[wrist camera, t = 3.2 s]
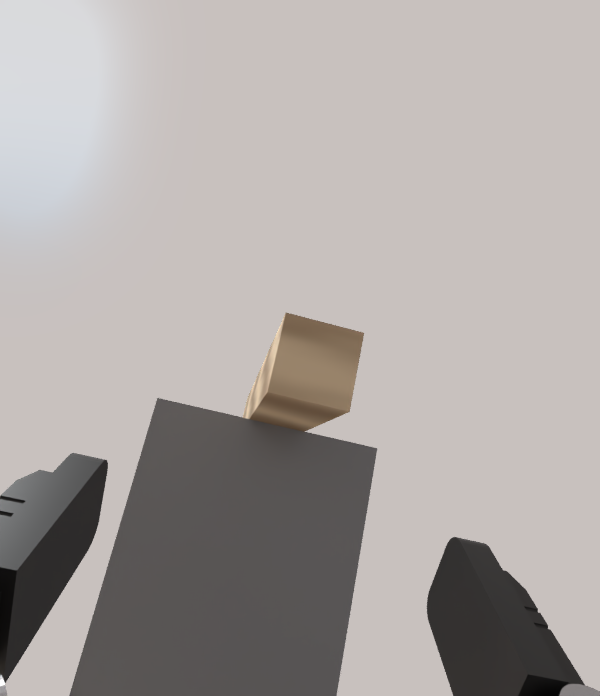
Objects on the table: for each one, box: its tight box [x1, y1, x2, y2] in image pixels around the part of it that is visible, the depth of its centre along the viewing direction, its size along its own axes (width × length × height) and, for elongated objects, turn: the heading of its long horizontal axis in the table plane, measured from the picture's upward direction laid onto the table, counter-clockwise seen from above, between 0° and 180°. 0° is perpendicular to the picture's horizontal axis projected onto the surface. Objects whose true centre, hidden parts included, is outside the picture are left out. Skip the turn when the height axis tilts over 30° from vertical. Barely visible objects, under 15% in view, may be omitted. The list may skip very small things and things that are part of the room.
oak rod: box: [243, 313, 364, 432], centre depth 28 cm, size 22×3×3 cm, turn 10°
